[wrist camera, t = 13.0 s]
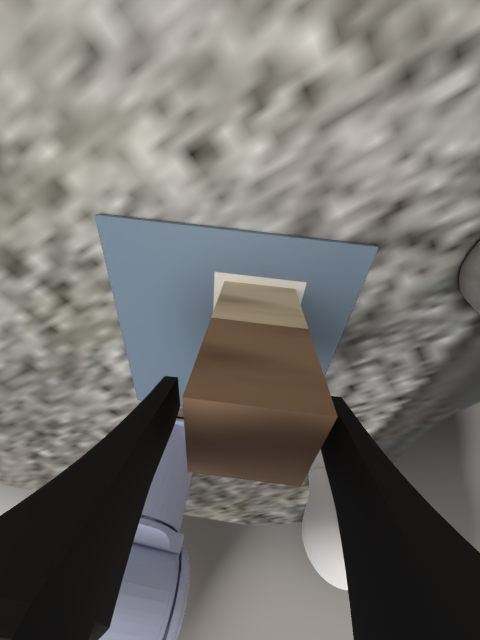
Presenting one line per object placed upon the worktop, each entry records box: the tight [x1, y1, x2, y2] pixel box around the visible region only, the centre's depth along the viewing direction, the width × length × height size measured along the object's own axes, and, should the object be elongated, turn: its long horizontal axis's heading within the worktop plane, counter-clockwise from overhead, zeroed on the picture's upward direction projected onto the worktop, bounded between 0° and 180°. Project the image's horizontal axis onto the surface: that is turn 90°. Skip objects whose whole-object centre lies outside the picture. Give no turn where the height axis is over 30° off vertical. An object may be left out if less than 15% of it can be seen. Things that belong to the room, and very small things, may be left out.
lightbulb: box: [302, 449, 348, 590], centre depth 22 cm, size 6×6×11 cm
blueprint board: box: [95, 214, 379, 405], centre depth 19 cm, size 18×18×1 cm
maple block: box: [212, 281, 308, 329], centre depth 15 cm, size 5×5×5 cm
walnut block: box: [182, 317, 338, 486], centre depth 11 cm, size 5×5×5 cm
